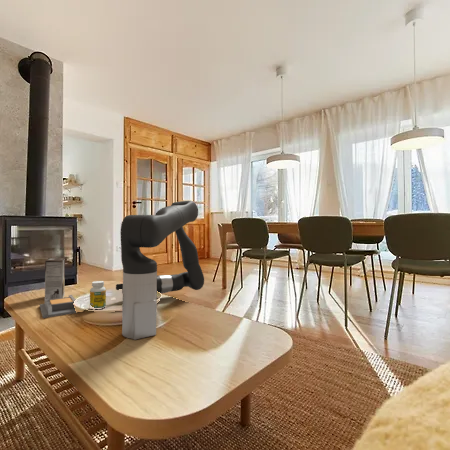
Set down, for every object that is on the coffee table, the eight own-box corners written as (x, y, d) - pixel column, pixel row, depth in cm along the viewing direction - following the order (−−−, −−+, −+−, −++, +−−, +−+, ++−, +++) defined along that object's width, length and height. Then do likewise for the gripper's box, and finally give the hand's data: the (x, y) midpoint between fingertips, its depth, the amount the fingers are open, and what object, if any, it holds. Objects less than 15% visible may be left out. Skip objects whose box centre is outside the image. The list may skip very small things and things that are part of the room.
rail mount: (83, 311, 98) (83, 303, 98) (42, 318, 91) (43, 308, 91) (75, 301, 111) (76, 294, 111) (39, 306, 103) (39, 298, 103)
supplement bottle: (102, 305, 106) (103, 279, 106) (108, 308, 102) (108, 282, 102) (87, 308, 102) (87, 281, 103) (92, 311, 99) (93, 284, 99)
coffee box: (47, 296, 119) (48, 258, 120) (64, 294, 122) (65, 257, 122) (43, 301, 111) (44, 260, 111) (62, 299, 114) (63, 259, 114)
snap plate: (72, 303, 100) (72, 301, 100) (51, 306, 96) (51, 304, 96) (69, 299, 105) (69, 297, 105) (49, 302, 101) (49, 300, 101)
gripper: (152, 273, 122) (114, 276, 113) (166, 278, 111) (125, 282, 101) (152, 290, 122) (113, 295, 113) (166, 297, 111) (124, 303, 101)
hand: (119, 289), depth 107 cm, fingers open, 8 cm apart
